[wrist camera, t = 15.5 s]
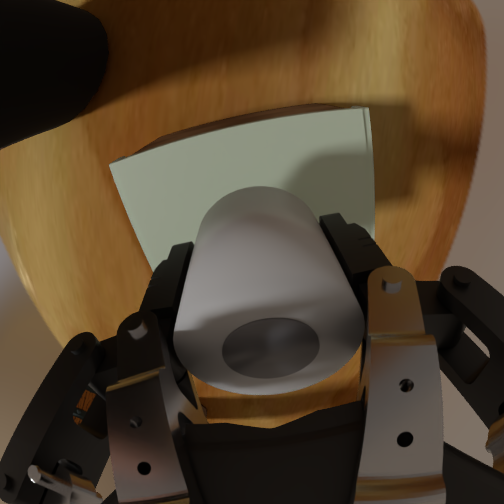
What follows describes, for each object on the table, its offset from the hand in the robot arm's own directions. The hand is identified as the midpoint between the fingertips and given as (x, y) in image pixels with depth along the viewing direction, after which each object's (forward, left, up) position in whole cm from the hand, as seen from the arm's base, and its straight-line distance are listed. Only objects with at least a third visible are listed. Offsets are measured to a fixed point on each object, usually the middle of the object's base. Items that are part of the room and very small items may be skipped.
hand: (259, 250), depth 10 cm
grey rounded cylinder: (0, 0, 0) cm, 0 cm away
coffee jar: (-13, +13, -13) cm, 23 cm away
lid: (0, -1, -6) cm, 6 cm away
